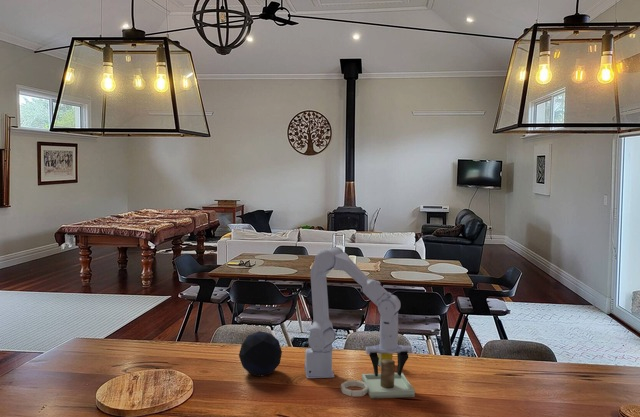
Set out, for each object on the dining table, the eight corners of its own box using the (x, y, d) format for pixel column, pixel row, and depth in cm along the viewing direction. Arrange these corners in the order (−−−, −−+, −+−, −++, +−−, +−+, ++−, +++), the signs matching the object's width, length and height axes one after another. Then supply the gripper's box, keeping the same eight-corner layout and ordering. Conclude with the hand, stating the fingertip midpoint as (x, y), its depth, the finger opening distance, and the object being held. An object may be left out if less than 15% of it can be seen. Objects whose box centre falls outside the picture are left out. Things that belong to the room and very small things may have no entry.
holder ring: (343, 396, 155) (343, 392, 154) (339, 385, 163) (339, 380, 163) (370, 395, 156) (370, 391, 155) (364, 384, 164) (364, 380, 164)
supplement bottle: (374, 364, 181) (375, 338, 181) (384, 361, 185) (385, 335, 184) (385, 369, 177) (385, 342, 176) (395, 365, 180) (396, 339, 180)
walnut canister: (382, 388, 159) (382, 364, 158) (379, 382, 163) (379, 359, 163) (395, 388, 160) (396, 364, 159) (392, 382, 164) (392, 358, 163)
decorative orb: (235, 349, 179) (238, 324, 169) (276, 346, 183) (281, 321, 173) (239, 386, 169) (242, 361, 159) (282, 381, 173) (288, 357, 163)
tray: (370, 398, 154) (371, 392, 154) (361, 379, 168) (361, 373, 167) (414, 396, 155) (414, 390, 155) (402, 378, 169) (402, 372, 169)
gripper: (369, 338, 155) (368, 380, 156) (414, 337, 157) (413, 379, 158) (364, 331, 162) (363, 371, 163) (407, 330, 164) (406, 370, 165)
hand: (387, 374), depth 161 cm, fingers open, 7 cm apart
